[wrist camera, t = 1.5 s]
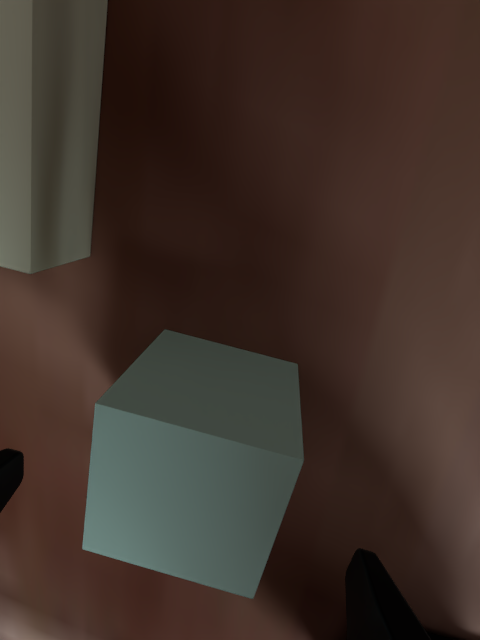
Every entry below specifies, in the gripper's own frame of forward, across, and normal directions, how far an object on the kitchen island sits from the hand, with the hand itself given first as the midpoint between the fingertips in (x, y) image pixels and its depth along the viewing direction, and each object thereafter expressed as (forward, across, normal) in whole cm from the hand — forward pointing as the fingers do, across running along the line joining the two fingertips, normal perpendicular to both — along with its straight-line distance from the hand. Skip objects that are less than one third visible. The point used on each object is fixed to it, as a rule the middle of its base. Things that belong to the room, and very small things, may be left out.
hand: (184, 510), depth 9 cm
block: (+5, 0, 0) cm, 5 cm away
